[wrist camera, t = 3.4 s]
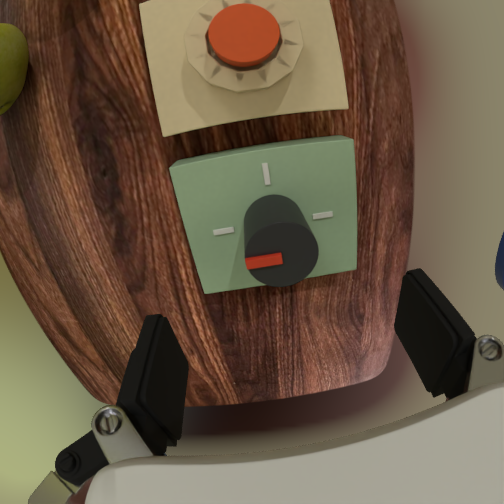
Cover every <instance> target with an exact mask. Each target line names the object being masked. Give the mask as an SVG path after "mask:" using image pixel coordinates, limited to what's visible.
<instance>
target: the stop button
mask: <svg viewBox="0 0 504 504" xmlns="http://www.w3.org/2000/svg"><path fill="white" fill-rule="evenodd" d="M279 37H280V29H279V25H278V22H277V20H276V19H275V17H274V16H273V15H272V14H271V13H270V12H269V11H267V10H266V9H264V8H262V7H260V6H257V5H254V4H247V3H242V4H235V5H231V6H228V7H226V8H224V9H223V10H221V11H220V12H218V13H217V14H216V15H215V17H214V18H213V19H212V21H211V23H210V25H209V29H208V38H209V42H210V44H211V46H212V48H213V50H214V52H215V53H216V55H217V56H218V57H219V58H220V59H221V60H223V61H224V62H226V63H228V64H230V65H233V66H238V67H249V66H254V65H257V64H259V63H261V62H263V61H265V60H266V59H267V58H268V57H269V56H270V55H271V54H272V52H273V51H274V49H275V47H276V45H277V44H278V41H279Z"/></svg>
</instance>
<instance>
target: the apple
mask: <svg viewBox="0 0 504 504" xmlns="http://www.w3.org/2000/svg"><path fill="white" fill-rule="evenodd" d="M28 60H29V52H28V44H27V41H26V38H25V36H24V35H23V33H22V32H21V31H20V30H19V29H18V28H17V27H15V26H13V25H11V24H4V23H0V115H2V114H3V113H4V112H6V111H7V110H8V109H9V108H10V107H11V106H12V105H13V103H14V102H15V101H16V99H17V98H18V96H19V95H20V93H21V91H22V89H23V86H24V83H25V79H26V73H27V68H28Z"/></svg>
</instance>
